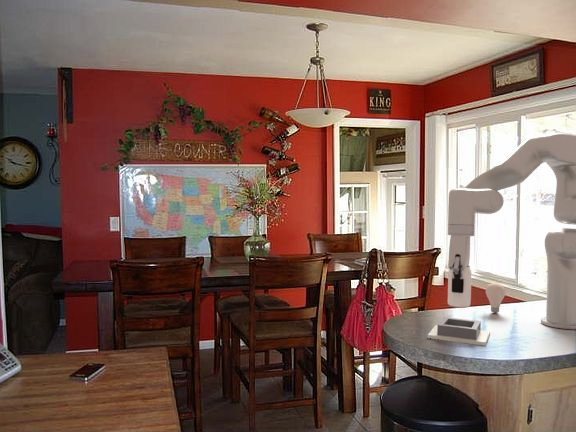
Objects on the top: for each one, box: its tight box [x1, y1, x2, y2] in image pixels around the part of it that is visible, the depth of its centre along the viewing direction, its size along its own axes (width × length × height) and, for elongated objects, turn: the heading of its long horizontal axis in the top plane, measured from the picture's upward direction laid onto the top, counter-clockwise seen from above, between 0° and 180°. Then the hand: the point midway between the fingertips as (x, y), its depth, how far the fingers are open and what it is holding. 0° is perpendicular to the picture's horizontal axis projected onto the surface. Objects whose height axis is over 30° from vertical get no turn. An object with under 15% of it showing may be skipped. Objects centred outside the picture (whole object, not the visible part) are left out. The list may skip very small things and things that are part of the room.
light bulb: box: [485, 282, 506, 314], centre depth 178 cm, size 7×7×11 cm
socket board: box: [427, 316, 491, 347], centre depth 148 cm, size 16×13×4 cm
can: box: [447, 264, 472, 309], centre depth 148 cm, size 6×6×12 cm
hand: (459, 290), depth 148 cm, fingers closed on can, 6 cm apart
